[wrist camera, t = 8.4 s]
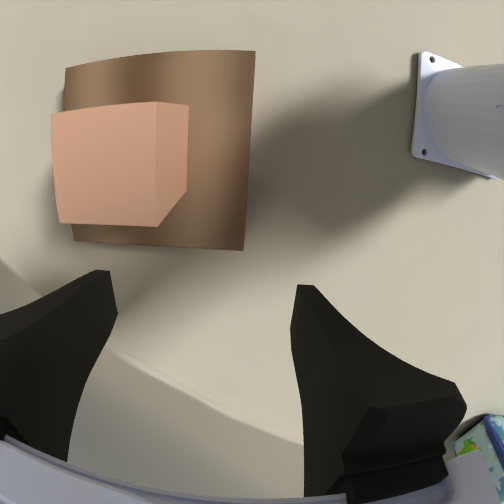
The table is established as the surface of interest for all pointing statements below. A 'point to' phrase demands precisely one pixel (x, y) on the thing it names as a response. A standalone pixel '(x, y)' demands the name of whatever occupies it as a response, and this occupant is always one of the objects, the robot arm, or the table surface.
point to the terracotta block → (119, 162)
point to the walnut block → (199, 139)
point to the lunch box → (487, 447)
